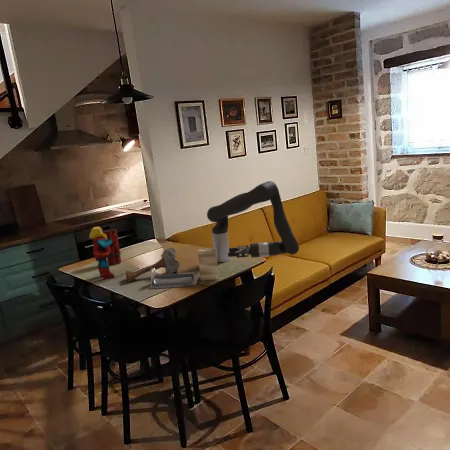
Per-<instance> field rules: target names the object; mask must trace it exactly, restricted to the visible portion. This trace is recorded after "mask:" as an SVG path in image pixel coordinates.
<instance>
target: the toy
mask: <svg viewBox="0 0 450 450" xmlns="http://www.w3.org/2000/svg"><path fill="white" fill-rule="evenodd" d="M103 231H104V230H103V229H102V227H100V226H94V227H92V228H91V230H90V233H89V236H88V238H89V239H91V241H92V243H93V247H92V248H93V249H92V251H93V255H94V259H95V261H96V262H98V263H97V270H98V272H99V275H100V278H102V281H103V280H104V281H107V280H110V279H113V278H116V276H115V274H114V273H112V272H111V270H110V266H109V265H108V261H107V256H108V255H109V253H110V252H111V249H110V247H109V246H112V247H116V246H117V244H116V243H114V242H115V241H116V240H117V236H116V234H113V235H111V236H110V237H109V239H108V240H107V235H106V234H104V233H103Z"/></svg>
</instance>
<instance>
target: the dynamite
mask: <svg viewBox="0 0 450 450" xmlns="http://www.w3.org/2000/svg"><path fill="white" fill-rule="evenodd" d="M106 219H107V221H109V218H106ZM107 223H108V226H110V225H109V222H107ZM117 230H118V229H117V228H113V229H112V228H111V229H110V228H108V229H105V230H102V231H103V233H104V234H106V235H107V240H108V239H109V237H110V236H111V235H113V234H116V236H117V240H116V241H115V242H114V243H116V244H117V246H116V247H112V246H109V247H110V249H111V252H110V253H109V255H108V256H107V258H106V259H107V262H108V266H117V265H119V264H121V263H122V258H121V254H122V253H121V251H120V250H121V249H120V245H119V235H118V231H117Z"/></svg>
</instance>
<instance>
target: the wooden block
mask: <svg viewBox="0 0 450 450" xmlns="http://www.w3.org/2000/svg"><path fill="white" fill-rule="evenodd" d="M197 256H198V266H199V267H198V268H199V278H200V281H209V280H210V281H212V280H218V279H219V272H218V270H219V268H218V262H217V258H216V248H214V247H211V248H209V247H207V248H198V249H197Z"/></svg>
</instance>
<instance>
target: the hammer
mask: <svg viewBox="0 0 450 450" xmlns="http://www.w3.org/2000/svg"><path fill="white" fill-rule="evenodd" d="M160 256H161V258H160V260H158V261H157V262H155V263H153V264H151V265H148V266H145V267H141V268H140V269H137V270H135V271H130V270H126V271H125V277H126V280H127V282H128V283H131V282H132V281H134V280H135V279H136V278H138V277H140V276H141V275H143V274H146V273H150V270H151V269H152V268H155V271H157V270H159V269H161V268H164V269H165V274H175V273H177V272H179V267H180V265H181V264H180V262H179V260H178V259H176V249H175V248H174V247H173V246H171V247H169V248H167V249H166V248H165V250H163V252H162V254H160Z"/></svg>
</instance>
